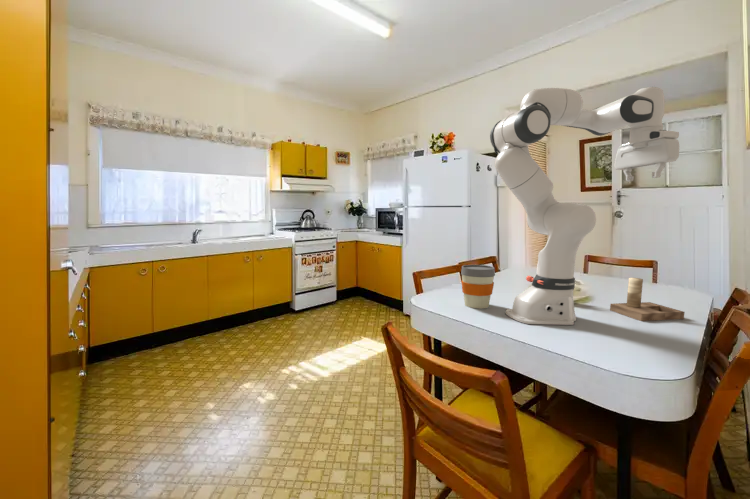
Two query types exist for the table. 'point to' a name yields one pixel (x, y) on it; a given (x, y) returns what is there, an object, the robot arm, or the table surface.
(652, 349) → the table surface
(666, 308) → the pin board
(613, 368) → the table surface
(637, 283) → the pin
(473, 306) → the reusable coffee cup
